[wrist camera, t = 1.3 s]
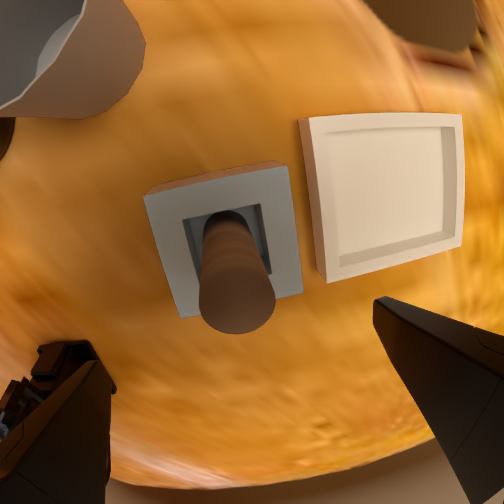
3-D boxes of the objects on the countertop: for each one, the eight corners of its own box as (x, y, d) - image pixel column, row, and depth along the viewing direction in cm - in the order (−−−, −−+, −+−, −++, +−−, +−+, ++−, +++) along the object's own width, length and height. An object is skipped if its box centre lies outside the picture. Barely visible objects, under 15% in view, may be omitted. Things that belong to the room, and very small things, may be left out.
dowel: (252, 247, 20) (280, 325, 12) (209, 257, 20) (209, 340, 12) (244, 205, 19) (269, 261, 11) (199, 215, 19) (189, 277, 11)
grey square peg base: (290, 269, 22) (303, 292, 19) (184, 292, 22) (180, 318, 18) (274, 160, 19) (287, 165, 16) (154, 185, 19) (142, 196, 15)
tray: (445, 236, 23) (461, 245, 21) (316, 269, 22) (327, 283, 20) (442, 113, 19) (461, 114, 17) (297, 119, 18) (308, 117, 16)
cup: (142, -4, 13) (100, -83, 4) (152, 98, 16) (96, 65, 7) (37, 36, 13) (-45, 3, 3) (43, 134, 16) (-55, 147, 7)
